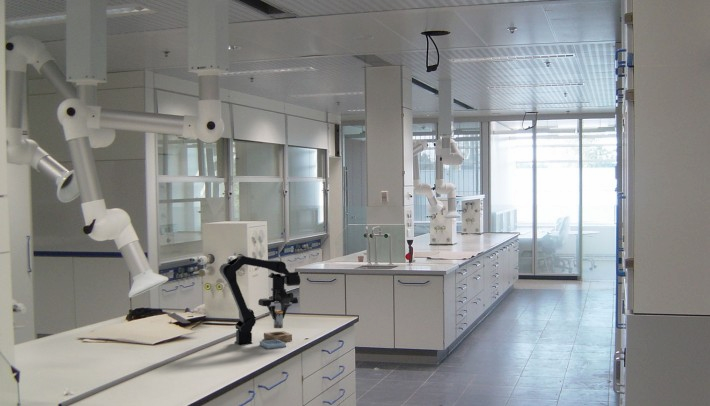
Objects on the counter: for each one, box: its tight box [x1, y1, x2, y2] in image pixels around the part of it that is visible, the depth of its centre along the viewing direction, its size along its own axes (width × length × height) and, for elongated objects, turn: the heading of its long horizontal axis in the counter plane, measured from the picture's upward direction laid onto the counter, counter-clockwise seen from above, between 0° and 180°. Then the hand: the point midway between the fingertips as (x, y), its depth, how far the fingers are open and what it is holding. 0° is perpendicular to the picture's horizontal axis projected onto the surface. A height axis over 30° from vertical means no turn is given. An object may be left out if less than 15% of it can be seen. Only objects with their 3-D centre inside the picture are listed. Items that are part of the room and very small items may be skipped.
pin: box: [273, 309, 284, 329], centre depth 352 cm, size 5×5×8 cm
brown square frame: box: [263, 330, 293, 343], centre depth 352 cm, size 10×10×3 cm
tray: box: [259, 339, 287, 350], centre depth 339 cm, size 9×9×2 cm
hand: (278, 318), depth 352 cm, fingers closed on pin, 4 cm apart
